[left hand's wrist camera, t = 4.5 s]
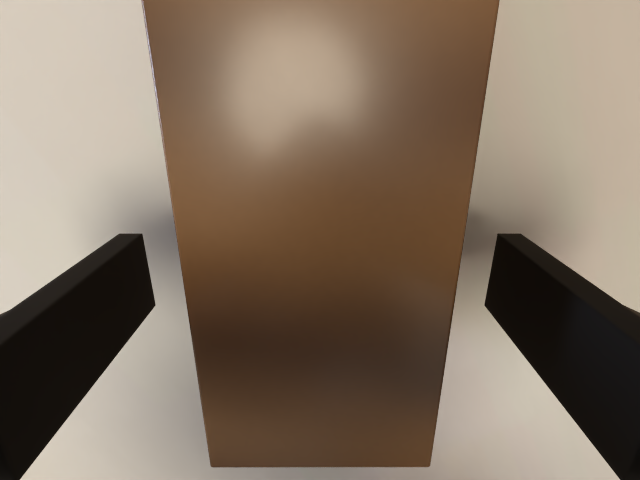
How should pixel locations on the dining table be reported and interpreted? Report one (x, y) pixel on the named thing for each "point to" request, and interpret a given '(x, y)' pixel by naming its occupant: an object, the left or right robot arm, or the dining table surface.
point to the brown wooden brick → (320, 214)
